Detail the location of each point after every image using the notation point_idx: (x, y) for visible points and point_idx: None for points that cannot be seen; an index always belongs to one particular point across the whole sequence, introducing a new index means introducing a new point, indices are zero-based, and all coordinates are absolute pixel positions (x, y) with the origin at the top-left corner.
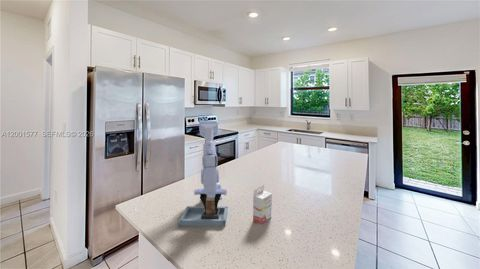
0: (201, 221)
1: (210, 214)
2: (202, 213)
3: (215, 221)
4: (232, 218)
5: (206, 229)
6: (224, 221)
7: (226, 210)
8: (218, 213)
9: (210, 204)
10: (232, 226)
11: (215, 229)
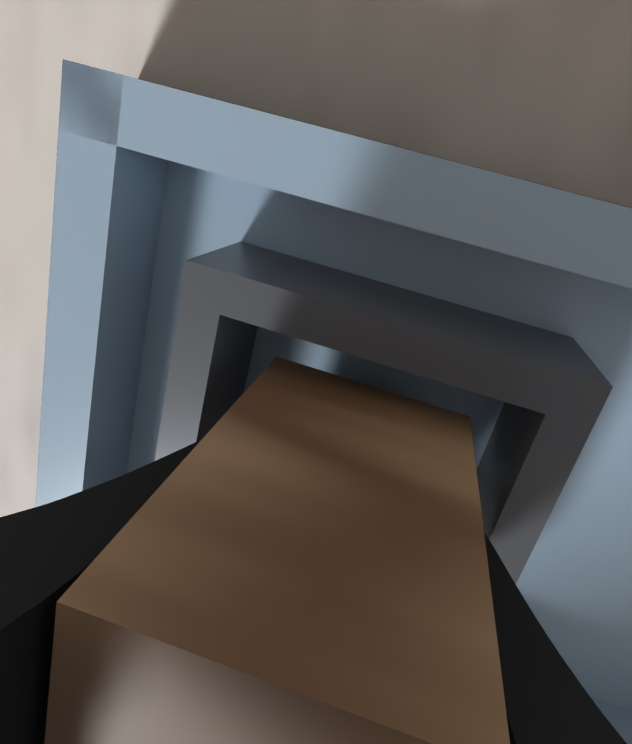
0: (627, 208)
1: (366, 397)
2: (557, 483)
3: (285, 120)
4: (16, 323)
5: (513, 48)
6: (88, 68)
7: (45, 480)
8: (181, 366)
9: (303, 555)
10: (12, 52)
11: (326, 6)
